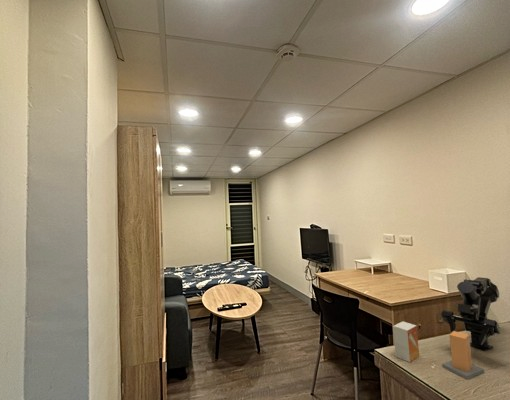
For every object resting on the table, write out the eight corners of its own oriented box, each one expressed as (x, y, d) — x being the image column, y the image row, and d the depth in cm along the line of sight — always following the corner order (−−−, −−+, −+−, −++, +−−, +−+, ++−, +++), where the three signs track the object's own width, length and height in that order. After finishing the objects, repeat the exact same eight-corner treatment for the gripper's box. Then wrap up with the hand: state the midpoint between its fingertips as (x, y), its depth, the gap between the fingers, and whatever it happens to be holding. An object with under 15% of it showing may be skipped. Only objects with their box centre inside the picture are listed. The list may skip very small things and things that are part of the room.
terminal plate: (459, 360, 109) (458, 351, 109) (484, 372, 101) (483, 362, 101) (442, 367, 105) (441, 357, 106) (467, 379, 97) (466, 368, 97)
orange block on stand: (456, 361, 107) (453, 330, 107) (472, 366, 103) (468, 334, 103) (452, 366, 103) (449, 334, 104) (468, 371, 100) (465, 338, 100)
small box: (410, 362, 110) (407, 330, 110) (395, 356, 115) (392, 325, 116) (419, 356, 114) (417, 325, 115) (404, 350, 119) (402, 320, 120)
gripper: (440, 291, 120) (433, 323, 112) (494, 300, 105) (491, 338, 98) (447, 305, 124) (442, 336, 117) (501, 315, 110) (498, 352, 102)
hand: (466, 340), depth 108 cm, fingers open, 9 cm apart
